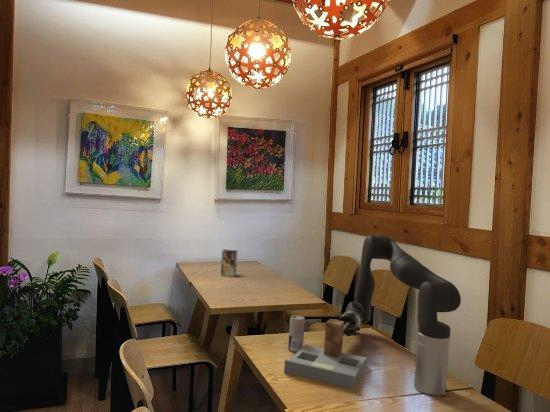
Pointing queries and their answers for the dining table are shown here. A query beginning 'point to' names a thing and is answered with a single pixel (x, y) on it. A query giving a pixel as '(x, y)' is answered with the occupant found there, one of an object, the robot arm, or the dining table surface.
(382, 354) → the dining table surface
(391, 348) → the dining table surface
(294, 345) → the energy drink
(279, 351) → the dining table surface
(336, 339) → the walnut block
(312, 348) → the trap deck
